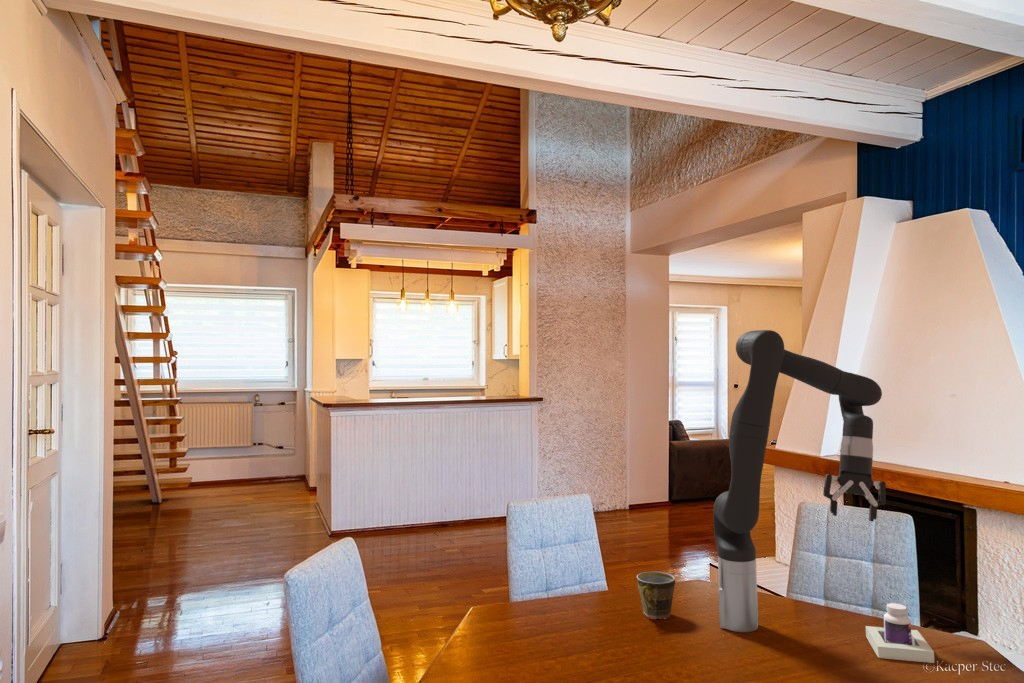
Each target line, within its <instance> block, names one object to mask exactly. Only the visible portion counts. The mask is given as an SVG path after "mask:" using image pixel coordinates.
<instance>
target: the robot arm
mask: <svg viewBox="0 0 1024 683" xmlns="http://www.w3.org/2000/svg"><path fill="white" fill-rule="evenodd" d="M735 352H736V355H737V356H738V358H739V359H740V360H741V361H742V362H743V363H744V364H746V365H749V366H750V369H749V370H750V371H749V375H748V376H749V377H748V381H747V385H746V387H745V390H744V392H743V394H742V395H741V397H740V399H739V400H738V402H737V403H736V406H735V407H734V410H733V412H732V416H731V422H730V426H729V427H730V428H729V433H728V434H729V435H728V449H729V457H730V466H731V474H730V475H731V476H730V482H729V487H728V488H729V489H728V490H727V491H723V492H722V493H720V494H719V495H718V496H717V497H716V499H715V501H714V504H713V511H712V512H713V514H712V515H713V517H712V518H713V533H714V540H715V542H714V543H715V545H716V550H717V567H718V568H717V569H718V570H717V571H718V572H717V573H718V606H719V610H718V611H719V612H718V614H719V629H726V630H728V631H731V632H736V633H751V632H754V631H757V630H758V628H759V611H758V609H759V608H758V581H757V580H758V577H757V552H756V551H757V549H756V546H755V544H754V542H753V539H752V535H751V531H753V529H754V528H755V527H756V525H757V523H758V520H759V517H760V499H761V498H760V497H761V496H760V495H761V480H762V474H763V469H764V468H763V467H764V462H765V458H766V456H765V455H766V449H767V445H768V439H769V433H770V427H771V416H772V411H773V406H774V398H775V391H776V387H777V383H778V379H779V376H780V374H783V375H785V376H787V377H790V378H792V379H795V380H797V381H799V382H801V383H804V384H806V385H808V386H809V387H810V386H811V387H813V388H815V389H817V390H819V391H822V392H823V393H826V394H830V395H834V396H838V402H839V407H840V412H841V417H842V421H843V424H842V437H841V442H840V449H839V472H838V474H837V475H832V474H830V473H827V474H825V479H824V484H823V485H824V486H823V493H822V495H823V497H825V498H828V499H829V501H830V505H829V506H830V507H829V508H830V509H829V512H830V513H831V514H832V516H834V517H837V515H838V501H837V500H839V499H840V497H842V495H843V494H844V493H846V494H848V495H849V494H850V495H857V496H864V497H865V499H866V500H867V501H868V503H869V504H870V505H869V513H868V521H869V522H874V520H877V517H878V507H879V506H885V505H886V504H887V498H886V496H887V491H886V490H887V489H886V488H887V487H886V482H885V481H883V480H881V481H879V480H877V481H876V480H873V477H872V476H873V458H874V445H873V443H874V442H873V435H874V420H873V419H872V417H871V416H868V415H865V414H864V410H863V407H869V406H870V407H871V406H874V405H876V404H877V403H879V402H880V401H881V399H882V397H883V396H882V395H883V390H882V389H881V387H880V385H879V384H878V383H877V382H876V381H875V380H873V379H872V378H869V377H867V376H863V375H860V374H857V373H854V372H848V371H846V370H845V371H844V370H842V369H841V368H838V367H836V366H833V365H832V364H829V363H827V362H824V361H821V360H818V359H817V358H816V359H815V358H813V357H809V356H805V355H801V354H798V353H796V352H792V351H789V350H787V349H785V343H784V340H783V338H782V337H781V335H780V334H779V333H778V332H777V331H775V330H771V329H760V330H759V329H758V330H750V331H747V332H744V333H743V334H742V335H740V336H739V337H738V339H737V341H736V343H735ZM835 481H837V484H839V487H838V489H836V491H834V493H831V487H832V484H834V483H835ZM873 486H874V487H875V489H876V490H878V491H877V492H878V496H877V498H878V500H876V499H875V497H874V495H873V494H872V493H871V491H870V489H871V488H872V487H873Z"/></svg>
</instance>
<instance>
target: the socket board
mask: <svg viewBox="0 0 1024 683" xmlns="http://www.w3.org/2000/svg"><path fill="white" fill-rule="evenodd" d="M865 637H866V638H867V640H868V642H869V644H870V646H871V648H872V649H873V651H874V653H875V654H876V656H877V658H878V659H886V660H887V659H888V660H896V661H897V660H898V661H908V662H920V663H930V664H935V651H934V649H932V647H931V646H930V645H929V643H928V641H926V639H925V638H924V637H923V635H922V634H921V633H920V632H919V630H918V629H911V641H912V645H904V644H893V643H885V638H884V626H883V627H881V626H871V625H870V626H868V625H865Z"/></svg>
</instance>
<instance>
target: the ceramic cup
mask: <svg viewBox="0 0 1024 683" xmlns="http://www.w3.org/2000/svg"><path fill="white" fill-rule="evenodd" d="M636 581H637V582H636V583H637V587H638V588H637V589H638V592H639V596H640V602H641V608H642V611H643V615H644V614H645V615H646V616H647V617H651V618H656V619H660V618H667V617H668V618H670V616H671V612H672V605H673V598H674V593H675V586H676V577H675V576H674V575H672V574H670V573H668V572H664V571H663V572H662V571H645V572H640V573H638V574H637V575H636ZM645 615H644V616H645ZM646 616H645V617H646ZM647 617H646V618H647ZM668 618H667V619H668Z"/></svg>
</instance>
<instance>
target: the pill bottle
mask: <svg viewBox="0 0 1024 683" xmlns="http://www.w3.org/2000/svg"><path fill="white" fill-rule="evenodd" d="M907 613H908V612H907V606H906V605H903V604H901V603H895V602H894V603H893V602H891V603H887V604H886V613H884V615H883V627H884V638H885V643H893V644H904V645H912V641H911V630H912V625H911V624H912V622H911V619H910V617H909V616H908V615H907Z"/></svg>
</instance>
